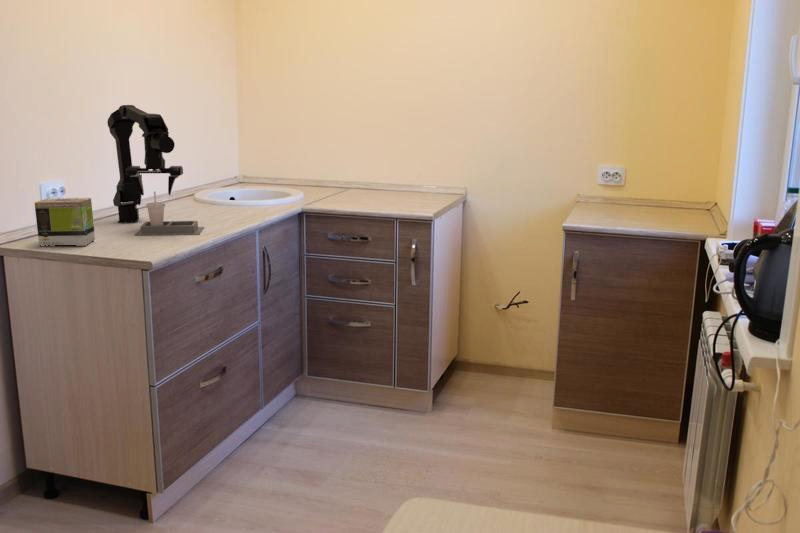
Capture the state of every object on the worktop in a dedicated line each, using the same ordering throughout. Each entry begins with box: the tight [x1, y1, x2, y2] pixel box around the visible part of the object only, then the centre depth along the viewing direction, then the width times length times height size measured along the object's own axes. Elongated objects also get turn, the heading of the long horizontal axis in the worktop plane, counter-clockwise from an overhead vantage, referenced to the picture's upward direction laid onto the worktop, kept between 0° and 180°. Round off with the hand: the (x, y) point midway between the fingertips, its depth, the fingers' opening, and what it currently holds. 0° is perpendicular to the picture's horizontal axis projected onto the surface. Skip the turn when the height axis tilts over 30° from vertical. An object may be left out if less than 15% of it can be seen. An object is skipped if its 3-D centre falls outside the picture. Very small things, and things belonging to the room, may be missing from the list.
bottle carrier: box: [134, 220, 205, 237], centre depth 280 cm, size 22×13×3 cm, turn 97°
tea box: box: [34, 197, 96, 247], centre depth 258 cm, size 15×10×15 cm, turn 92°
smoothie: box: [145, 191, 166, 226], centre depth 278 cm, size 6×6×14 cm
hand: (156, 195), depth 280 cm, fingers open, 9 cm apart
